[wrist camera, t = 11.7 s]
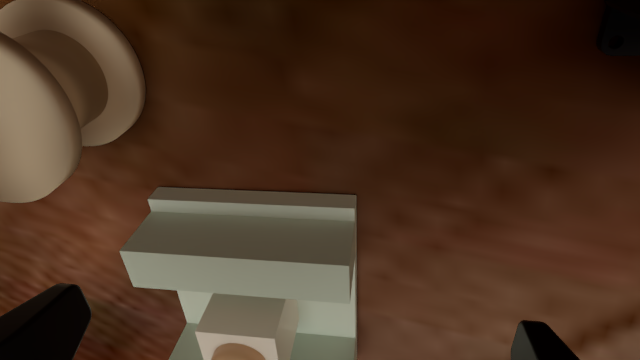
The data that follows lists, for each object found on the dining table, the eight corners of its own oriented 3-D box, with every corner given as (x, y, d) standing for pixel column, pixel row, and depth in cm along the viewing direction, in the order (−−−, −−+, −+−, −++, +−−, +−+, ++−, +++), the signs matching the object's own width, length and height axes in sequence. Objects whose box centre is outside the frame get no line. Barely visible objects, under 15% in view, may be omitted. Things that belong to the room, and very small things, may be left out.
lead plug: (293, 271, 24) (269, 357, 19) (299, 319, 26) (278, 407, 21) (225, 266, 24) (186, 349, 20) (236, 314, 26) (203, 398, 22)
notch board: (356, 195, 22) (348, 252, 18) (357, 353, 29) (351, 418, 25) (158, 186, 23) (114, 237, 20) (203, 339, 30) (177, 397, 27)
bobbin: (120, -9, 18) (15, 21, 13) (161, 138, 22) (91, 206, 17) (-22, -5, 19) (-170, 25, 14) (40, 136, 23) (-60, 199, 18)
